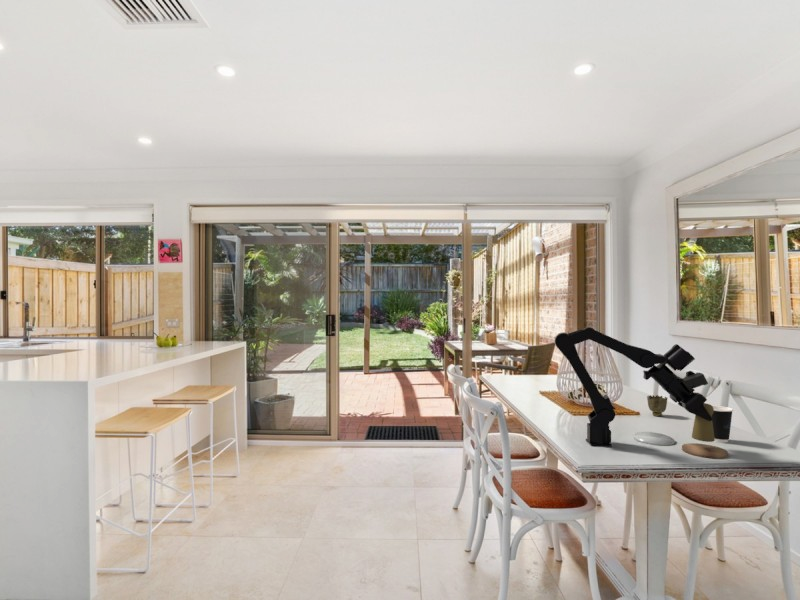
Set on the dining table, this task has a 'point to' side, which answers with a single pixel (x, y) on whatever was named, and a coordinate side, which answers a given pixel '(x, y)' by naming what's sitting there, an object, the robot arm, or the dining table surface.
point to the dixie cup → (721, 423)
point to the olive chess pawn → (703, 427)
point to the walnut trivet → (705, 450)
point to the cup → (657, 404)
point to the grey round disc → (653, 438)
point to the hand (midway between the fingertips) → (708, 418)
